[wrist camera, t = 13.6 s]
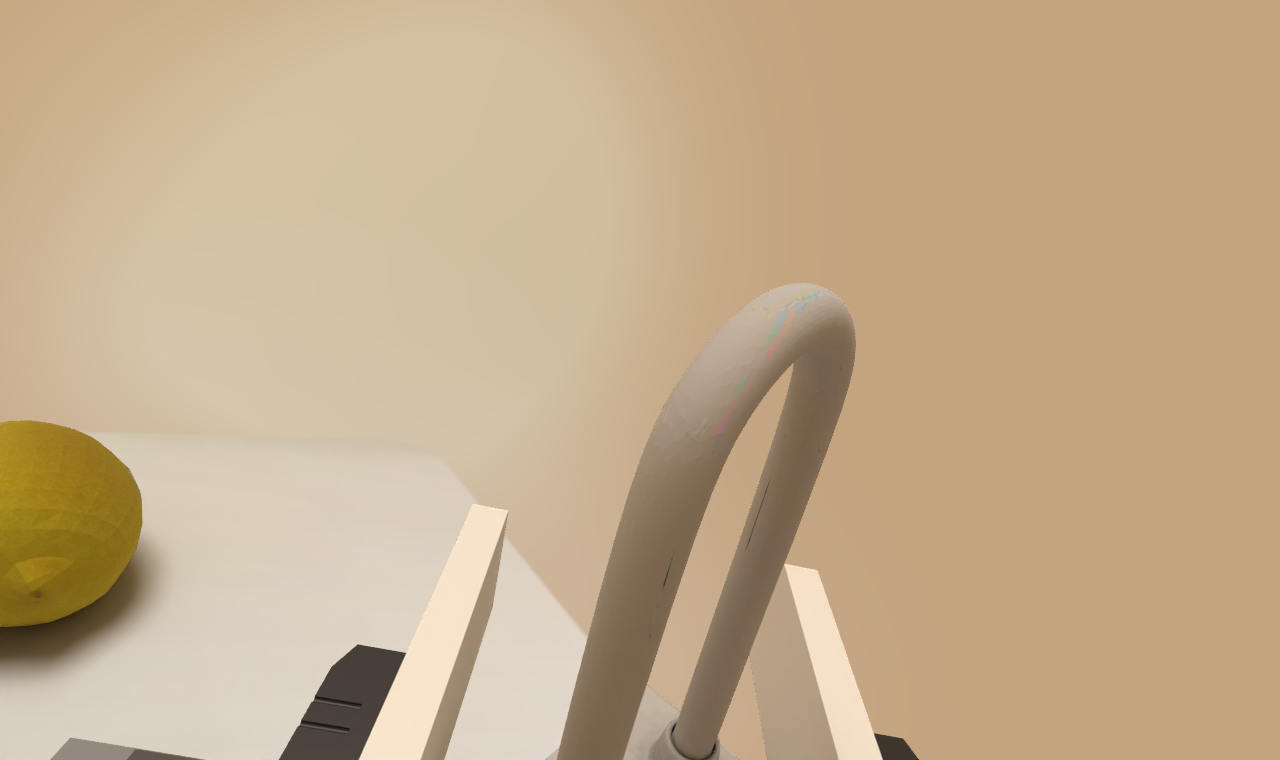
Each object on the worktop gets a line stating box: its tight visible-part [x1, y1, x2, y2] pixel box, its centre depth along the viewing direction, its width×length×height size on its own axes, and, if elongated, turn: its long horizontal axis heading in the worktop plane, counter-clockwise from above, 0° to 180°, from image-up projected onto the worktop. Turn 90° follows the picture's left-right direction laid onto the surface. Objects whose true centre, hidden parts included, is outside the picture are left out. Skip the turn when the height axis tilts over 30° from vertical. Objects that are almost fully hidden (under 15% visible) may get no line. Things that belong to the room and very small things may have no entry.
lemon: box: [0, 421, 142, 627], centre depth 28 cm, size 11×8×8 cm
